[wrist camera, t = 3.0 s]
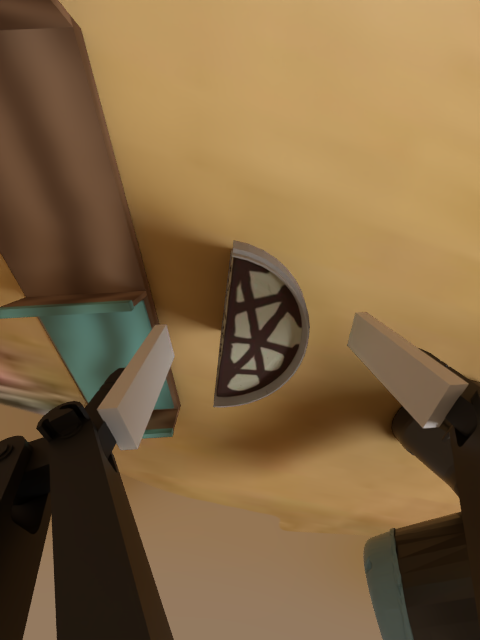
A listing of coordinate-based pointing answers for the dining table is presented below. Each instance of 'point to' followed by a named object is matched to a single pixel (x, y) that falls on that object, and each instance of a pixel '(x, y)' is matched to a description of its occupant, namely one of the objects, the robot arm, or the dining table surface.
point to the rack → (69, 206)
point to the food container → (259, 328)
